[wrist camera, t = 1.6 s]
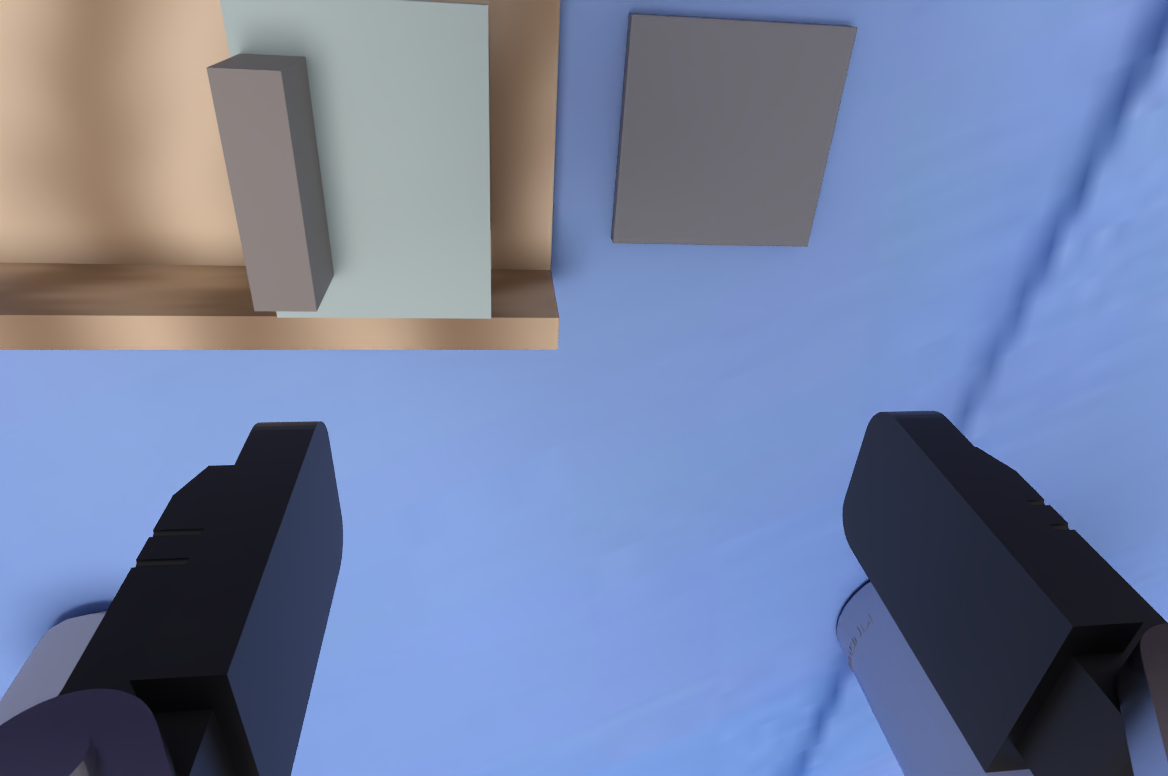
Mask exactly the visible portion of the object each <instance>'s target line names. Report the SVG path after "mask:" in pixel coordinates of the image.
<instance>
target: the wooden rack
mask: <svg viewBox="0 0 1168 776" xmlns="http://www.w3.org/2000/svg"><path fill="white" fill-rule="evenodd" d="M431 1H449V2H466V3H483V4H488V37H489V137H490V237H491V319H462V318H277V313H276V311H254V306H253V300H252V295H251V290H250V285H249V280H248V275H247V270H246V265H245V260H244V255H243V250H242V245H241V240H240V235H239V230H238V225H237V220H236V215H235V210H234V205H233V200H232V195H231V189H230V184H229V179H228V174H227V169H226V164H225V159H224V154H223V149H222V144H221V139H220V134H219V129H218V124H217V119H216V114H215V109H214V104H213V99H212V94H211V89H210V84H209V78H208V73H207V67H209V66H211V65H214V64H216V63H218V62H221V61H223V60H225V59H228V58H230V54H229V48H228V43H227V37H226V32H225V26H224V21H223V15H222V10H221V4H220V0H0V350H558V332H559V314H558V309H557V303H556V298H555V292H554V286H553V281H552V275H551V244H552V217H553V189H554V161H555V133H556V106H557V78H558V50H559V22H560V0H431Z"/></svg>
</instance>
